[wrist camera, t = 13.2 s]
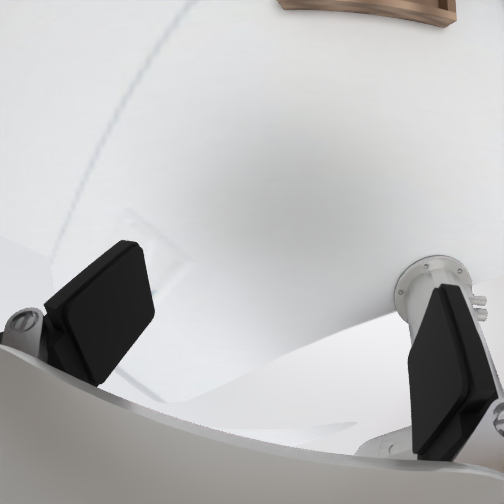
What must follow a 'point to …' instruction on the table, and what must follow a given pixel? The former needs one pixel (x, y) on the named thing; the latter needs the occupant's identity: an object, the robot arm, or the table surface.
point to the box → (385, 8)
